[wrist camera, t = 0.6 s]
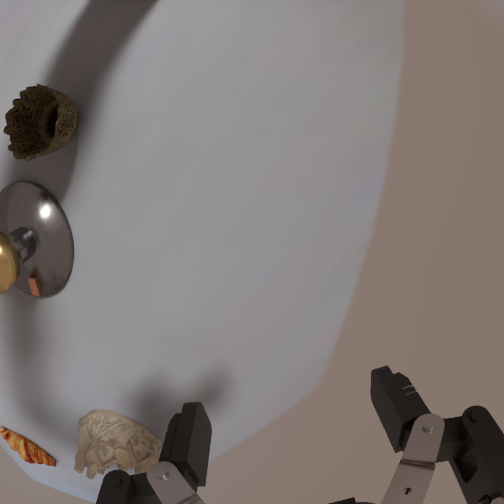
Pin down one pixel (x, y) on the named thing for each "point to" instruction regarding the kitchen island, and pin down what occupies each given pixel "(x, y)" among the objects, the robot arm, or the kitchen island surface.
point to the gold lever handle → (8, 263)
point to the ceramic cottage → (114, 444)
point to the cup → (40, 122)
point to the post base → (37, 237)
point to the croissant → (26, 448)
